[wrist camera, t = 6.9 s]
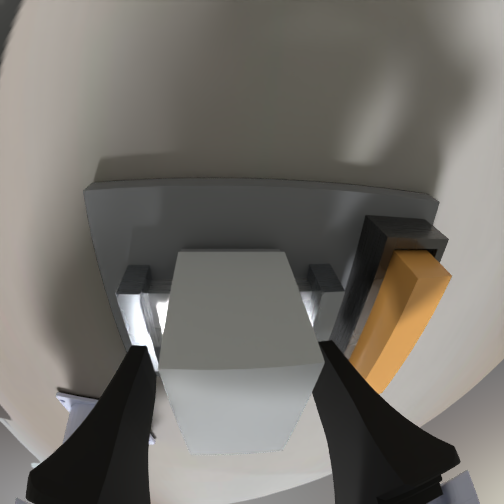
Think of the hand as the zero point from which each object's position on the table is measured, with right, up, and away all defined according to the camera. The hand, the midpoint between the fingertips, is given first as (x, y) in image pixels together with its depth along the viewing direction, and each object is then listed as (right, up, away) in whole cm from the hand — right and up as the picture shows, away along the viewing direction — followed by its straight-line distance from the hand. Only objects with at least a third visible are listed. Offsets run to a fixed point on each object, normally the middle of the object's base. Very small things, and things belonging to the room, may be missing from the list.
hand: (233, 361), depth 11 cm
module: (0, +2, +2) cm, 3 cm away
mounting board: (+2, +2, +4) cm, 5 cm away
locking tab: (+7, +1, +2) cm, 8 cm away
